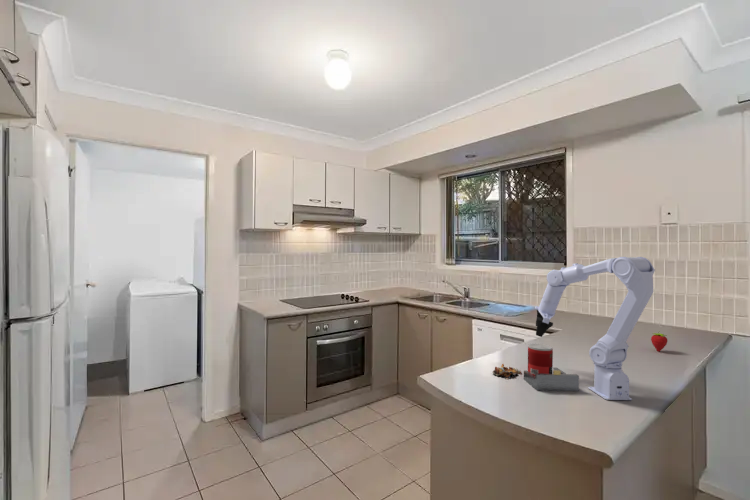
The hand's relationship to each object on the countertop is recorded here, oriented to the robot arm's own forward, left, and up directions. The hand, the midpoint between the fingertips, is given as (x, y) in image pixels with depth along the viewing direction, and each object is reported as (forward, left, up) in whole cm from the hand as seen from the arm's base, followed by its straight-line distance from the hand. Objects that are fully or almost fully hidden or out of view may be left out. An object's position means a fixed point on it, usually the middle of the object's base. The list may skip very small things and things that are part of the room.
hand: (538, 331), depth 137 cm
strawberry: (+27, -67, -14) cm, 74 cm away
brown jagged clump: (-7, +14, -15) cm, 22 cm away
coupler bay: (-16, +4, -14) cm, 21 cm away
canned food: (-10, +4, -14) cm, 18 cm away
